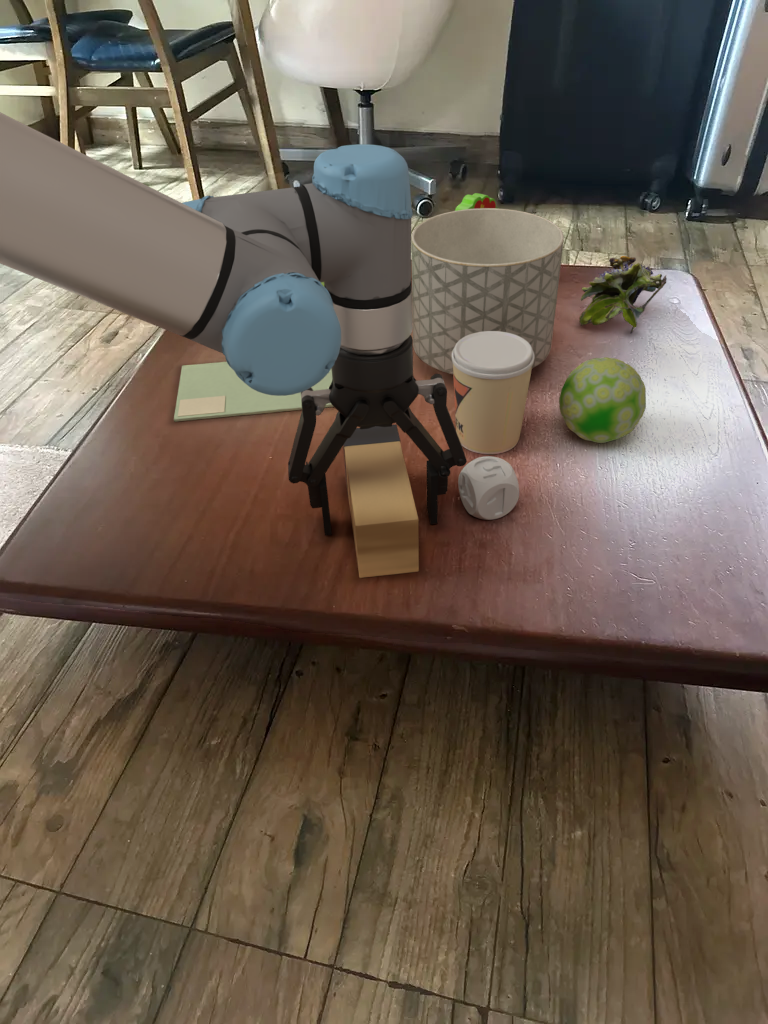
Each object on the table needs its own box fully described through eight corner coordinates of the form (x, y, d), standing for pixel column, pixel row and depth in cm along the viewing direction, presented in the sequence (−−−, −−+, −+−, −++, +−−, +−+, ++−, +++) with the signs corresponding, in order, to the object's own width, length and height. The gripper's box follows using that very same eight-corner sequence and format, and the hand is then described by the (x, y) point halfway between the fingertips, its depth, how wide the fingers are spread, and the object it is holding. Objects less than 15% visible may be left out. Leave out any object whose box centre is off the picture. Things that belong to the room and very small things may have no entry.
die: (475, 525, 83) (477, 488, 80) (457, 497, 87) (458, 461, 84) (517, 513, 85) (521, 477, 81) (497, 487, 88) (500, 451, 85)
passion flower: (608, 342, 124) (652, 273, 120) (644, 362, 115) (694, 288, 111) (555, 310, 119) (600, 237, 115) (589, 329, 110) (638, 250, 106)
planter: (572, 351, 111) (589, 224, 99) (506, 413, 100) (517, 277, 88) (458, 319, 120) (462, 199, 108) (386, 372, 109) (381, 244, 97)
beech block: (419, 571, 78) (419, 518, 74) (359, 578, 78) (354, 525, 73) (397, 475, 91) (396, 424, 86) (345, 480, 90) (341, 429, 86)
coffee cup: (452, 413, 100) (454, 328, 92) (526, 417, 99) (534, 330, 91) (446, 456, 93) (448, 367, 85) (526, 461, 92) (535, 371, 84)
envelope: (174, 421, 101) (173, 418, 101) (182, 367, 111) (181, 364, 111) (358, 404, 103) (358, 401, 102) (349, 353, 113) (349, 349, 113)
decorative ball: (609, 406, 100) (622, 335, 94) (654, 448, 93) (671, 375, 86) (540, 422, 98) (548, 351, 91) (580, 467, 91) (592, 392, 84)
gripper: (488, 306, 74) (478, 489, 88) (241, 327, 72) (272, 510, 86) (507, 343, 68) (493, 532, 82) (239, 368, 66) (272, 556, 80)
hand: (380, 521), depth 84 cm, fingers open, 11 cm apart
